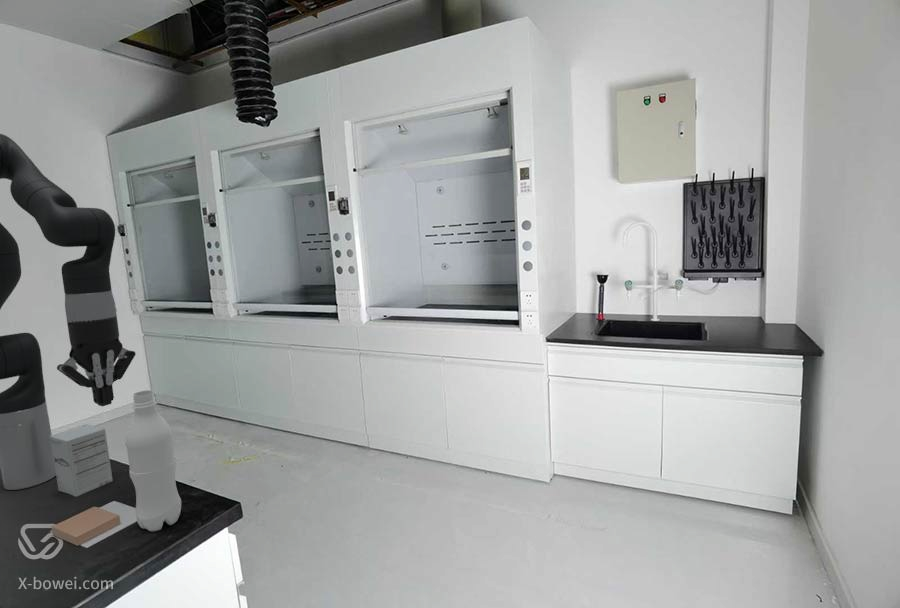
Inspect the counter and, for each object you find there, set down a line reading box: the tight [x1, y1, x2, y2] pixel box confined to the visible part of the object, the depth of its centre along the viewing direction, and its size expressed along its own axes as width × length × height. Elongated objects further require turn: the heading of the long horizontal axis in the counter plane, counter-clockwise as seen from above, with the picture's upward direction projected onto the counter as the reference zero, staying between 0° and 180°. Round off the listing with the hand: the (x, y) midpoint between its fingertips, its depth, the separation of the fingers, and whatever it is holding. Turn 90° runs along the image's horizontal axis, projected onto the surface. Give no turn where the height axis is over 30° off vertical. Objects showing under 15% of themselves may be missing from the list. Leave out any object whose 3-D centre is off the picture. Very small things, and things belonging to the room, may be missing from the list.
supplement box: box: [50, 423, 114, 498], centre depth 103 cm, size 7×7×13 cm
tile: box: [51, 506, 121, 547], centre depth 87 cm, size 8×2×7 cm
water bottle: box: [124, 389, 182, 532], centre depth 87 cm, size 7×7×25 cm
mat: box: [49, 500, 138, 549], centre depth 89 cm, size 12×11×1 cm
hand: (104, 404), depth 92 cm, fingers closed
